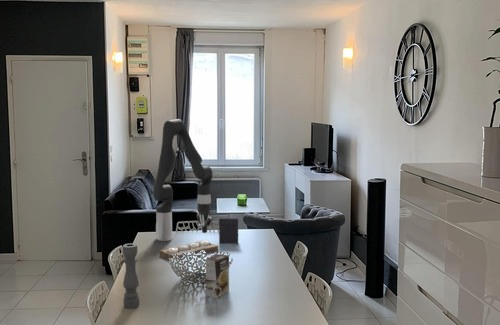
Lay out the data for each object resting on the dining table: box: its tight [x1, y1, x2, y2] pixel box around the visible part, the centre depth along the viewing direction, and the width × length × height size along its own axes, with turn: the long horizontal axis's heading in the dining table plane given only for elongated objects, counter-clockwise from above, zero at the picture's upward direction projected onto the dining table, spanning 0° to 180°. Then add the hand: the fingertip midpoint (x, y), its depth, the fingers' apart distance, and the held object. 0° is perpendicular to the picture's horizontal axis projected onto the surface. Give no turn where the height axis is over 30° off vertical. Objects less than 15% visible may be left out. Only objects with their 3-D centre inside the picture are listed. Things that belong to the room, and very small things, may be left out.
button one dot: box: [200, 240, 210, 246], centre depth 275 cm, size 5×5×3 cm
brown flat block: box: [159, 240, 219, 260], centre depth 268 cm, size 14×29×3 cm, turn 132°
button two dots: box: [169, 247, 178, 254], centre depth 261 cm, size 5×5×3 cm
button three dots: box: [189, 242, 199, 249], centre depth 271 cm, size 5×5×3 cm
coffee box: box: [205, 253, 230, 299], centre depth 210 cm, size 9×6×16 cm
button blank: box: [179, 244, 189, 251], centre depth 266 cm, size 5×5×2 cm
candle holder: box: [122, 242, 140, 310], centre depth 196 cm, size 6×6×25 cm
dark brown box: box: [218, 217, 239, 245], centre depth 288 cm, size 11×4×15 cm, turn 84°
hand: (204, 232), depth 274 cm, fingers closed
